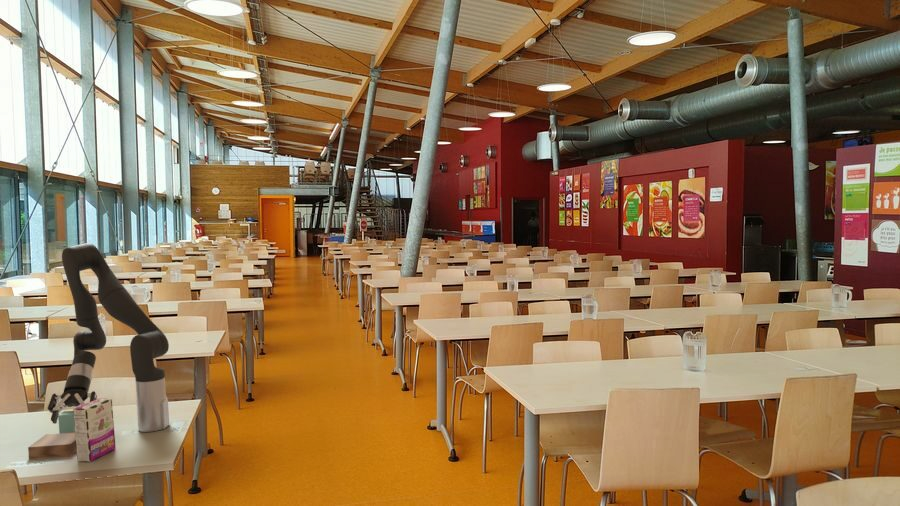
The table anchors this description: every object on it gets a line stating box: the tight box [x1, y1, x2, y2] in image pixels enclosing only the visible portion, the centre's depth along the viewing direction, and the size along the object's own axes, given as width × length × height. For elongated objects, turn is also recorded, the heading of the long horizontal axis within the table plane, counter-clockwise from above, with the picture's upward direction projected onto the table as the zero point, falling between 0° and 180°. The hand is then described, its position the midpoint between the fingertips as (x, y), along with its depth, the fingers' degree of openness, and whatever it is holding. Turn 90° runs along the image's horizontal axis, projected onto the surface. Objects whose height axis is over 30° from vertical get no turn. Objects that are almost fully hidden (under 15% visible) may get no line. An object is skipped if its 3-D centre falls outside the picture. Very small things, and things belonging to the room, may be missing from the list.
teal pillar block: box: [57, 410, 75, 434], centre depth 223 cm, size 4×4×8 cm
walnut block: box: [27, 432, 77, 460], centre depth 209 cm, size 12×12×4 cm
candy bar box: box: [72, 397, 117, 463], centre depth 203 cm, size 11×5×16 cm, turn 168°
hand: (67, 421), depth 222 cm, fingers open, 8 cm apart
